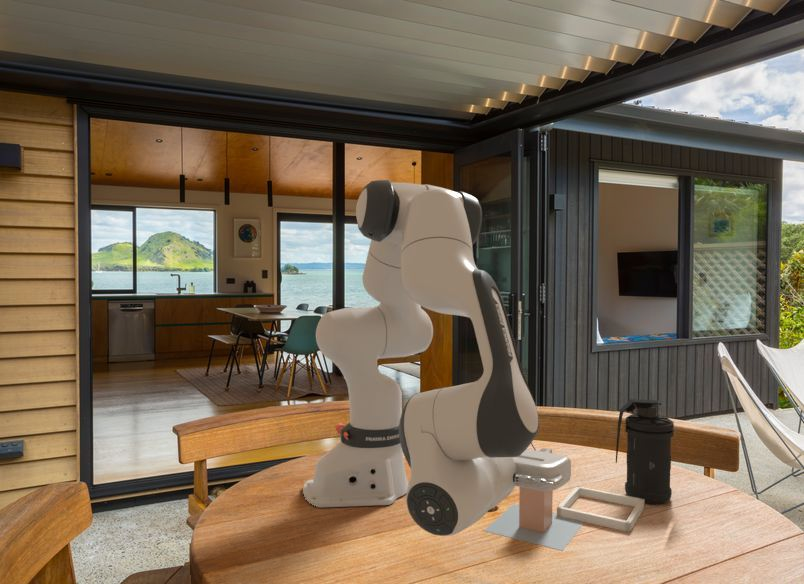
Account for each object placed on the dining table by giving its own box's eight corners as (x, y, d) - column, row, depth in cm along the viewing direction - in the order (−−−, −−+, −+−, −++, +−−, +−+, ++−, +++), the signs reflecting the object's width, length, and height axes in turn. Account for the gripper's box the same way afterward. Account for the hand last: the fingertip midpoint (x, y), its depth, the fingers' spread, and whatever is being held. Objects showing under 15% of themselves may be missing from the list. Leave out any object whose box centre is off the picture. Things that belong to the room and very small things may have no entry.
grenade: (676, 507, 120) (679, 407, 119) (618, 503, 122) (620, 404, 121) (666, 490, 129) (668, 397, 128) (612, 486, 131) (613, 395, 130)
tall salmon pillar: (543, 532, 105) (544, 476, 105) (519, 526, 108) (519, 471, 107) (552, 523, 109) (552, 468, 109) (528, 517, 111) (528, 464, 111)
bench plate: (562, 559, 99) (562, 550, 99) (483, 538, 106) (483, 530, 106) (585, 528, 111) (586, 520, 110) (513, 511, 118) (513, 503, 118)
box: (629, 540, 106) (630, 523, 105) (556, 523, 113) (556, 507, 112) (644, 514, 117) (644, 499, 116) (576, 500, 124) (576, 486, 123)
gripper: (555, 463, 82) (583, 439, 93) (423, 440, 92) (463, 421, 104) (555, 510, 82) (583, 479, 93) (423, 481, 93) (463, 457, 104)
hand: (519, 448), depth 99 cm, fingers open, 8 cm apart
